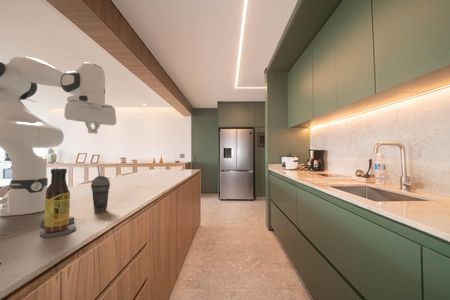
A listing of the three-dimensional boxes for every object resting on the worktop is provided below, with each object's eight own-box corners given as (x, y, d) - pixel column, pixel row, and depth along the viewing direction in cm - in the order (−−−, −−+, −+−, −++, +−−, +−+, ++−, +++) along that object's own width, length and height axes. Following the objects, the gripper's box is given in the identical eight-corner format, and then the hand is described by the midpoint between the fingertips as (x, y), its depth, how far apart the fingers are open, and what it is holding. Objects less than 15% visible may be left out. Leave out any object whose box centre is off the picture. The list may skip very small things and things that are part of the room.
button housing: (40, 225, 72) (40, 219, 72) (63, 219, 79) (63, 214, 79) (51, 228, 69) (51, 222, 69) (74, 222, 76) (74, 217, 76)
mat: (34, 234, 64) (34, 232, 64) (66, 225, 73) (66, 223, 73) (49, 239, 61) (49, 237, 61) (81, 229, 69) (81, 227, 69)
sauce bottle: (55, 234, 63) (55, 169, 63) (38, 232, 64) (39, 169, 65) (74, 226, 70) (74, 168, 70) (59, 225, 71) (59, 167, 71)
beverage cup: (103, 214, 86) (104, 166, 87) (86, 213, 86) (87, 166, 87) (113, 209, 94) (113, 165, 94) (97, 209, 94) (97, 165, 94)
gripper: (110, 107, 99) (110, 135, 99) (62, 96, 81) (61, 131, 81) (119, 105, 97) (119, 135, 97) (71, 94, 78) (71, 130, 78)
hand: (92, 133), depth 88 cm, fingers closed
